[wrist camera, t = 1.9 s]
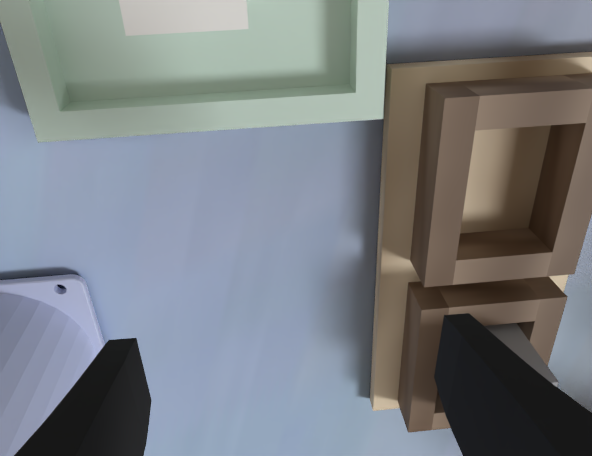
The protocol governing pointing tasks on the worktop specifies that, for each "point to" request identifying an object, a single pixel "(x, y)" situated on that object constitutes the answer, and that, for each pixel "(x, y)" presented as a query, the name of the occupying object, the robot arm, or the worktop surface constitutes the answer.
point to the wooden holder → (476, 210)
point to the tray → (196, 68)
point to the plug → (182, 16)
